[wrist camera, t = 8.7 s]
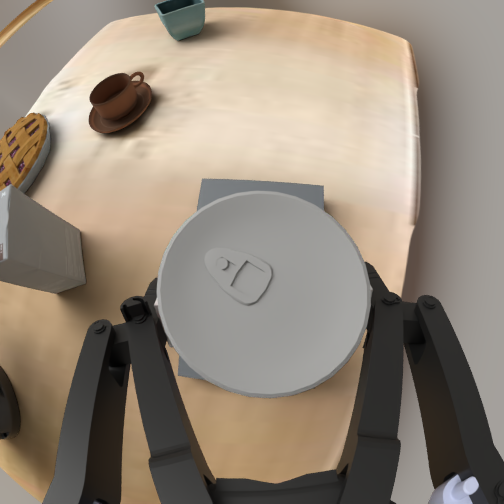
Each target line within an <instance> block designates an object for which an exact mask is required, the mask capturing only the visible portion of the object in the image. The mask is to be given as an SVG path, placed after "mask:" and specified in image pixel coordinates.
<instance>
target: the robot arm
mask: <svg viewBox="0 0 504 504" xmlns="http://www.w3.org/2000/svg"><path fill="white" fill-rule="evenodd" d="M364 263H365V265H366V269H367V273H368V277H369V282H370V293H371V307H370V313H369V318H368V323H367V327H366V329H367V335H366V338H365V342H364V345H363V348H364V354H363V361H362V367H361V373H360V378H359V384H358V389H357V394H356V399H355V404H354V409H353V413H352V418H351V422H350V426H349V430H348V434H347V438H346V442H345V446H344V449H343V453H342V456H341V459H340V462H339V464H338V466H337V469H335V470H329V471H324V472H317V473H311V474H306V475H303V476H300V477H297V478H294V479H291V480H288V481H285V482H282V483H278V484H274V483H267V482H261V481H256V480H250V479H227V478H216V480H215V478H214V476H213V475H212V473H211V471H210V469H209V467H208V465H207V463H206V461H205V458H204V456H203V453H202V451H201V449H200V446H199V444H198V441H197V439H196V436H195V434H194V431H193V428H192V426H191V423H190V420H189V418H188V415H187V412H186V409H185V406H184V404H183V401H182V398H181V395H180V392H179V389H178V386H177V383H176V379H175V376H174V373H173V370H172V366H171V363H170V360H169V356H168V353H167V350H166V348H165V345H166V341H168V344H169V346H170V347H173V345H172V343H171V341H170V340H169V338H168V336H167V334H166V332H165V330H164V327H163V324H162V320H161V317H160V314H159V309H158V300H157V282H158V278H155V279H154V280H153V281H152V282H151V283H150V284H149V287H148V289H147V291H146V293H145V296H144V297H142V296H135V297H131V298H129V299H127V300H125V301H124V302H123V303H122V305H121V307H120V310H121V312H122V314H123V316H124V319H125V321H126V323H123V324H119V325H114V326H112V324H111V323H110V321H108V320H105V319H102V320H98V321H96V322H94V323H93V324H92V325H91V326H90V327H89V329H88V331H87V334H86V337H85V340H84V343H83V346H82V349H81V353H80V356H79V359H78V363H77V366H76V369H75V373H74V377H73V380H72V384H71V388H70V392H69V396H68V400H67V404H66V409H65V413H64V418H63V423H62V428H61V434H60V439H59V445H58V452H57V459H56V467H55V475H54V478H53V480H52V483H51V485H50V487H49V489H48V491H47V494H46V496H45V498H44V501H43V503H42V504H120V502H121V470H122V444H123V428H124V416H125V405H126V396H127V387H128V379H129V371H130V364H131V365H132V371H133V377H134V383H135V388H136V394H137V399H138V404H139V409H140V413H141V418H142V422H143V426H144V430H145V434H146V438H147V442H148V446H149V450H150V454H151V457H150V459H149V467H150V471H151V474H152V478H153V481H154V484H155V487H156V490H157V493H158V496H159V499H160V502H161V504H396V503H394V502H393V501H391V500H390V498H391V494H392V490H393V486H394V482H395V477H396V472H397V466H398V461H399V455H400V447H401V443H400V440H398V438H397V433H398V425H399V416H400V406H401V394H402V378H403V343H404V347H405V350H406V353H407V357H408V361H409V364H410V368H411V372H412V376H413V380H414V384H415V389H416V393H417V398H418V402H419V407H420V411H421V417H422V422H423V428H424V434H425V440H426V447H427V454H428V460H429V468H430V475H431V479H432V482H433V486H434V489H435V490H434V492H433V493H432V495H431V498H430V500H429V502H428V504H504V461H503V459H502V458H501V456H500V454H499V453H498V451H497V449H496V448H495V446H494V444H493V440H492V436H491V432H490V428H489V425H488V421H487V417H486V414H485V410H484V407H483V404H482V401H481V398H480V395H479V392H478V389H477V386H476V383H475V380H474V378H473V375H472V372H471V370H470V367H469V364H468V362H467V359H466V357H465V355H464V352H463V350H462V348H461V345H460V343H459V341H458V338H457V336H456V334H455V332H454V329H453V327H452V325H451V323H450V321H449V319H448V317H447V315H446V313H445V311H444V309H443V307H442V305H441V303H440V302H439V300H437V299H436V298H435V297H433V296H429V295H424V296H421V297H419V298H418V300H417V303H409V302H402V300H401V298H400V297H399V296H398V295H397V294H395V293H392V292H389V290H388V289H387V287H386V286H385V284H384V282H383V281H382V279H381V278H380V276H379V275H378V273H377V272H376V270H375V268H374V267H373V266H372V265H370V264H369V263H368V262H364ZM19 429H20V414H19V408H18V404H17V400H16V397H15V394H14V391H13V389H12V386H11V384H10V382H9V380H8V378H7V376H6V374H5V373H4V371H3V370H2V368H1V367H0V439H9V438H13V437H15V436H16V435H17V434H18V432H19Z"/></svg>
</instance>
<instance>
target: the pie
mask: <svg viewBox="0 0 504 504" xmlns="http://www.w3.org/2000/svg"><path fill="white" fill-rule="evenodd" d="M49 127H50V124H49V122H48V120H47V118H46V116H45V115H41V114H39V113H38V114H35V113H30V114H29V115H28V116H27V117H25V118H24V117H21V118H20V119H19V120H17V122H16V124H15V125H14V126H13V127H12V128H9V129H8V130H7V131H6V132H5V134H4V137H3V138H2V139H1V140H0V191H1V190H3V189H4V188H6V187H7V186H9V185H10V184H12V185H13V186H14V187H15V188H17V189H18V190H20V191H21V192H22V193H25V192H26V191H27V190H28V188H29V187H30V186H31V185H32V183H33V182H34V180H35V178H36V177H37V175H38V173H39V172H40V170H41V169H42V167H43V165H44V163H45V160H46V158H47V156H48V154H49V151H50V143H51V137H50V132H49Z"/></svg>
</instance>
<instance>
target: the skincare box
mask: <svg viewBox="0 0 504 504" xmlns="http://www.w3.org/2000/svg"><path fill="white" fill-rule="evenodd" d="M0 281H3V282H7V283H11V284H15V285H19V286H23V287H27V288H32V289H36V290H41V291H45V292H50V293H54V294H56V293H59V292H62V291H65V290H68V289H71V288H74V287H77V286H80V285H83V284H86V278H85V272H84V264H83V257H82V248H81V238H80V230H79V229H78V228H76V227H74V226H73V225H71V224H70V223H68V222H66V221H65V220H63V219H62V218H60V217H58V216H57V215H55V214H54V213H52V212H51V211H49V210H48V209H46V208H45V207H43V206H42V205H40V204H39V203H37V202H36V201H34V200H33V199H31V198H30V197H28V196H27V195H25V194H24V193H22V192H21V191H20V190H18V189H17V188H15V187H14V186H13V185H12V184H10V185H9V186H7V187H6V188H4V189H3V190H1V191H0Z"/></svg>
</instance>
